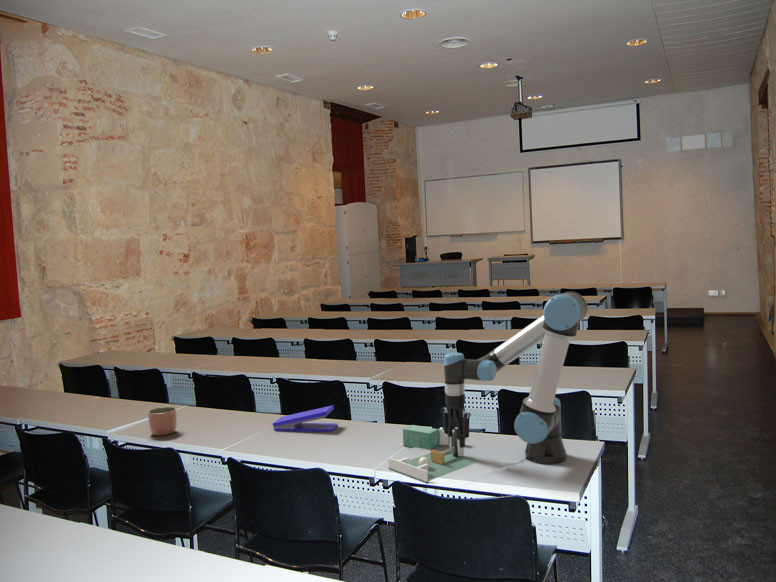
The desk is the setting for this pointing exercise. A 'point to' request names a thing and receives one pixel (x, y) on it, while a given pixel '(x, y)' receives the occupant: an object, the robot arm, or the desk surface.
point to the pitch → (433, 469)
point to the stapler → (296, 421)
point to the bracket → (443, 437)
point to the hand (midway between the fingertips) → (457, 453)
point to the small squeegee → (439, 456)
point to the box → (421, 437)
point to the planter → (162, 420)
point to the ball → (423, 461)
